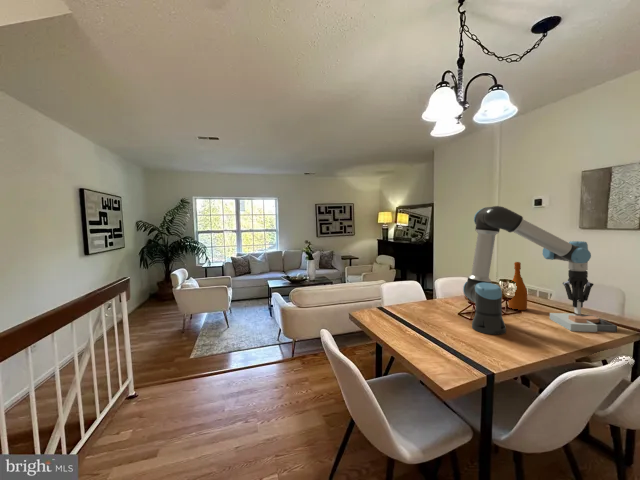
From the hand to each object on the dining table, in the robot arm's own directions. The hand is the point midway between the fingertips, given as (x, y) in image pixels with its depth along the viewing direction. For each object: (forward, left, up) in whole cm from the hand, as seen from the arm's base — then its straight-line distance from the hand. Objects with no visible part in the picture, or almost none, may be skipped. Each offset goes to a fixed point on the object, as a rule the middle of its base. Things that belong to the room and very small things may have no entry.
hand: (577, 313), depth 148 cm
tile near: (-5, -9, -2) cm, 10 cm away
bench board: (-6, -5, -5) cm, 9 cm away
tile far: (+6, 0, -2) cm, 6 cm away
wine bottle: (-19, +23, -5) cm, 30 cm away
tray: (+5, -4, -5) cm, 8 cm away
